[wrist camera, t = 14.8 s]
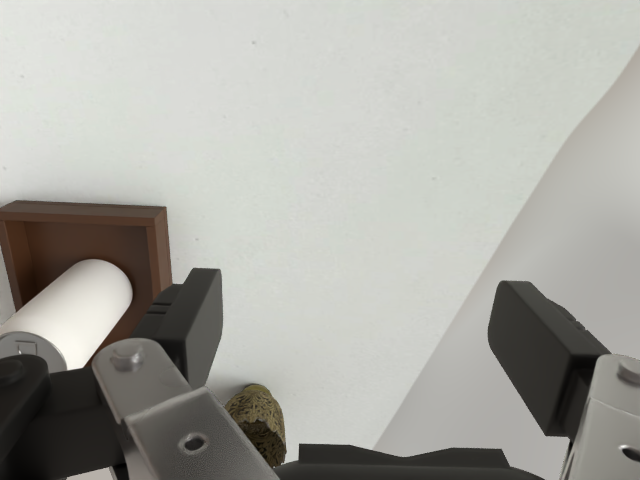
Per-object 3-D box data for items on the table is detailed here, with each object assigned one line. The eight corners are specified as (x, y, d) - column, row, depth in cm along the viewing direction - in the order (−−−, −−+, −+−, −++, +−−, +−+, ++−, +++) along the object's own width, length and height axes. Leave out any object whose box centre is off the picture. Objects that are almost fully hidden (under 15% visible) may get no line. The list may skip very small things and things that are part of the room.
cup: (212, 407, 49) (195, 467, 42) (237, 357, 47) (223, 412, 40) (273, 429, 51) (267, 491, 43) (301, 382, 48) (298, 439, 41)
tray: (16, 200, 40) (-9, 211, 37) (166, 206, 41) (154, 218, 38) (48, 351, 46) (29, 371, 43) (178, 355, 47) (169, 376, 44)
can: (70, 313, 44) (-13, 398, 33) (62, 254, 41) (-29, 323, 30) (136, 318, 44) (76, 404, 33) (132, 260, 42) (67, 330, 31)
